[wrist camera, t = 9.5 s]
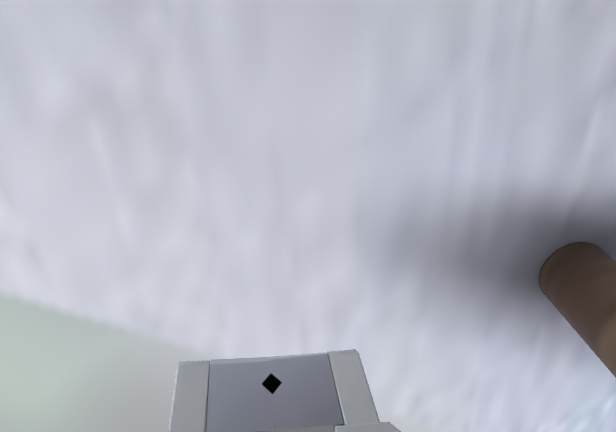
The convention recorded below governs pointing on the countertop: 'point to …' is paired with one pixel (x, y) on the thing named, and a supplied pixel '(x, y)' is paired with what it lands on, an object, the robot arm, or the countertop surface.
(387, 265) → the countertop surface
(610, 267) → the post
